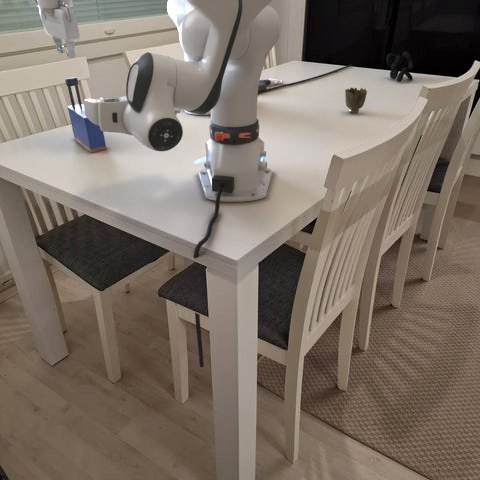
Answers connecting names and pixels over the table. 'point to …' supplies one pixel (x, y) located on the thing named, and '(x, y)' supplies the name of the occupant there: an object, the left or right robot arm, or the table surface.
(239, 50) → the right robot arm
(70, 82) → the lid
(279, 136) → the table surface
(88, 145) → the chest
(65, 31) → the left robot arm
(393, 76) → the squiggle
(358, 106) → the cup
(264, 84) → the spray bottle
